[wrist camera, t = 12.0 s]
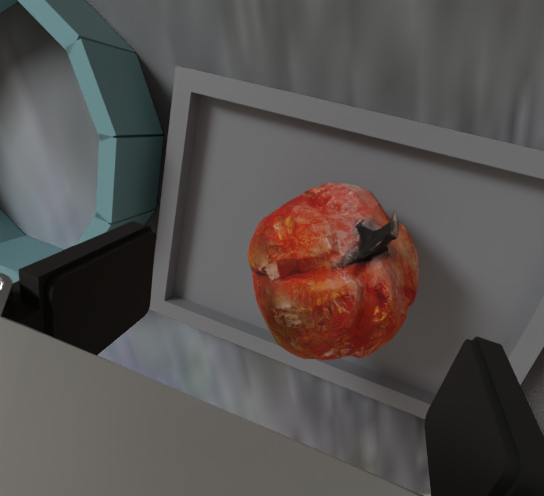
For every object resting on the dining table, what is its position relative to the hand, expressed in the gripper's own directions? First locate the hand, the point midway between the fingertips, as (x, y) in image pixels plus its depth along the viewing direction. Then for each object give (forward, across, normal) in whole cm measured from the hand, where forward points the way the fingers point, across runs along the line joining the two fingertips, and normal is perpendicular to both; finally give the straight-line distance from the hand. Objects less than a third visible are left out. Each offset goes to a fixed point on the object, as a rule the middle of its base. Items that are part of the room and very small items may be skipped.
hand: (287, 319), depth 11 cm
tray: (+10, 0, +1) cm, 10 cm away
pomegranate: (+9, -1, +1) cm, 9 cm away
